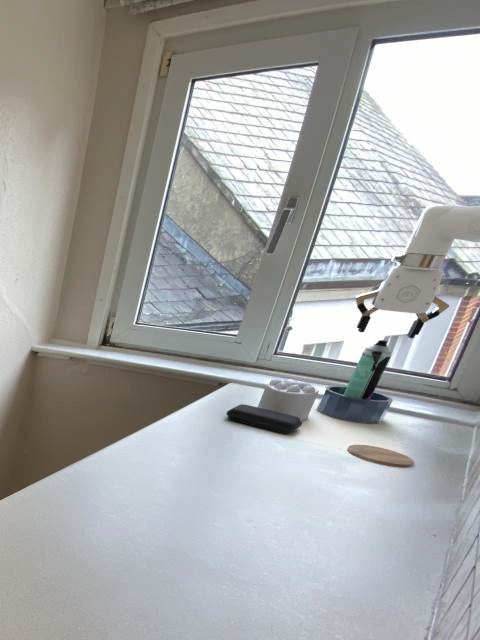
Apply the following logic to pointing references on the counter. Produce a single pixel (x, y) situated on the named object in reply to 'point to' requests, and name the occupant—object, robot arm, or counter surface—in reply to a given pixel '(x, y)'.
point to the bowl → (353, 406)
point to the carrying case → (264, 418)
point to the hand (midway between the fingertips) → (384, 334)
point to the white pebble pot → (289, 397)
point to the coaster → (381, 455)
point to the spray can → (369, 371)
